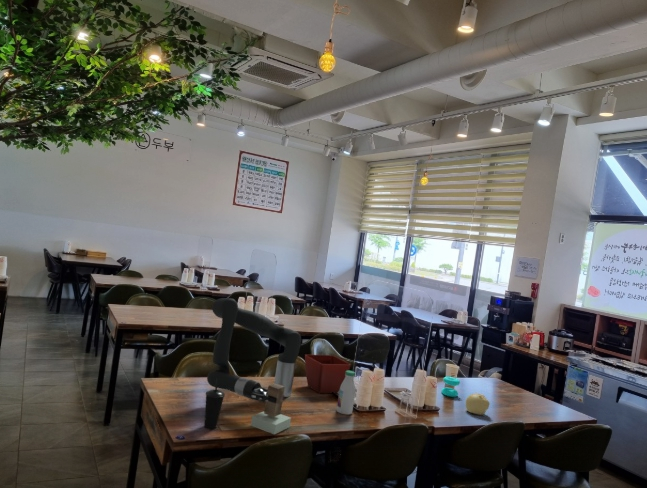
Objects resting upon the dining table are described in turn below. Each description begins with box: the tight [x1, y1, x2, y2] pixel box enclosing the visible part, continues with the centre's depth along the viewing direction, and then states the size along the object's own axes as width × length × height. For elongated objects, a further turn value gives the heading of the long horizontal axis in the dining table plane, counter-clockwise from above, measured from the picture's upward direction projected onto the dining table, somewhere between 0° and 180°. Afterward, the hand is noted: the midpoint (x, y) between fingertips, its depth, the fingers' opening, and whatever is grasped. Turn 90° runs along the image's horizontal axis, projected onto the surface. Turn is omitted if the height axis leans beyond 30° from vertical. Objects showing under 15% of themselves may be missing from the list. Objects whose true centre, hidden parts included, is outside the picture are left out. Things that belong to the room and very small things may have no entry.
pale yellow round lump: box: [464, 392, 490, 416], centre depth 279 cm, size 12×12×11 cm
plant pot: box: [304, 354, 351, 394], centre depth 279 cm, size 19×19×17 cm
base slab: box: [250, 411, 292, 435], centre depth 215 cm, size 12×12×4 cm
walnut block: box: [263, 383, 285, 417], centre depth 215 cm, size 5×5×12 cm
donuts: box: [441, 376, 461, 398], centre depth 308 cm, size 10×10×10 cm
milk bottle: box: [336, 370, 356, 416], centre depth 247 cm, size 8×8×20 cm
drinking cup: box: [203, 378, 226, 430], centre depth 205 cm, size 8×8×20 cm
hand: (280, 399), depth 214 cm, fingers closed on walnut block, 5 cm apart
